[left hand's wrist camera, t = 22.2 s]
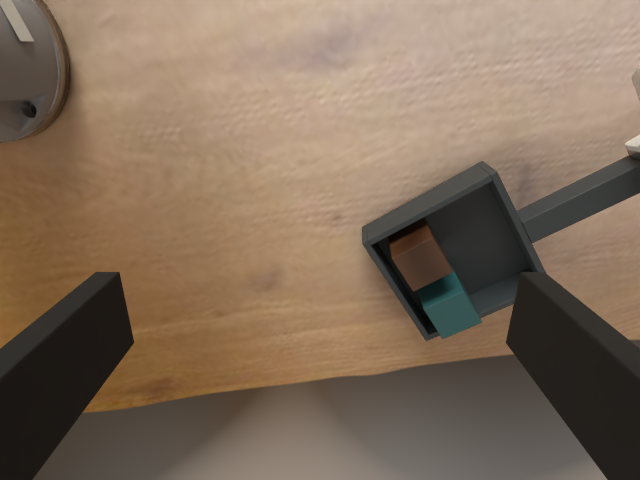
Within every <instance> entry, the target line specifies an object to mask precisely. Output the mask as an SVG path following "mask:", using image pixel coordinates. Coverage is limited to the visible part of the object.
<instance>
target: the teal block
mask: <svg viewBox="0 0 640 480" xmlns="http://www.w3.org/2000/svg"><path fill="white" fill-rule="evenodd" d="M449 263H450V261H449ZM450 266H451V268H452V270H453V273H451V274H449V275H447V276H445V277H443V278H441V279H439V280H437V281H434V282H432V283H430V284H428V285H426V286H424V287H422V288H420V289H418V291H419V294H420V298H421V301H422V305H423V309H424V311H425V312H426V314H427V315H428V317H429V318H430V320H431V322H432V323H433V325H434V326H435V328H436V329H437V331H438V332H439V334H440V336H441V337H442V339H444V338H446V337H449V336H451V335H453V334H456V333H458V332H461V331H463V330H465V329H468V328H470V327H472V326H475V325H477V324H479V323H482V321H481V319H480V317H479V315H478V313H477V311H476V309H475V307H474V305H473V303H472V301H471V299H470V297H469V295H468V293H467V291H466V289H465V287H464V285H463V283H462V282H461V280H460V278H459V277H458V275H457V273H456V271H455V270H454V268H453V266H452V265H451V263H450Z"/></svg>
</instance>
